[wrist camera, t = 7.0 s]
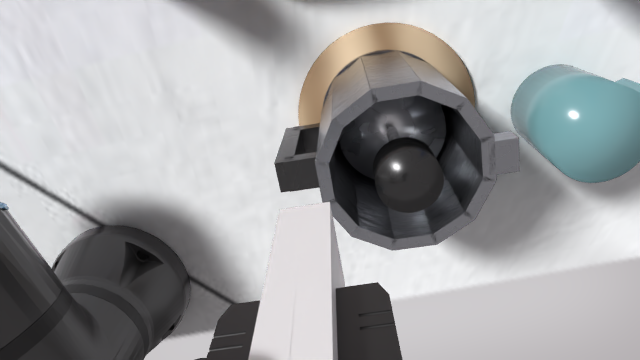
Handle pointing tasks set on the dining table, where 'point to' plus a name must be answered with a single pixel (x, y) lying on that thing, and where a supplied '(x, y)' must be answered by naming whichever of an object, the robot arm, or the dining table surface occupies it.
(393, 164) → the plunger
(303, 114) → the trivet
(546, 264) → the dining table surface
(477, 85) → the dining table surface
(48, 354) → the robot arm
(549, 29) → the dining table surface
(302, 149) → the carafe
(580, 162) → the mug
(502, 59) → the dining table surface
